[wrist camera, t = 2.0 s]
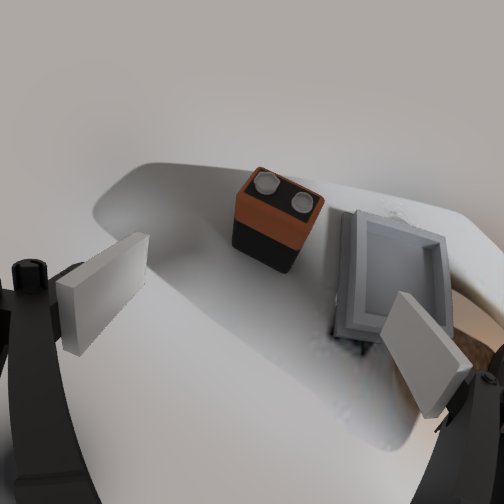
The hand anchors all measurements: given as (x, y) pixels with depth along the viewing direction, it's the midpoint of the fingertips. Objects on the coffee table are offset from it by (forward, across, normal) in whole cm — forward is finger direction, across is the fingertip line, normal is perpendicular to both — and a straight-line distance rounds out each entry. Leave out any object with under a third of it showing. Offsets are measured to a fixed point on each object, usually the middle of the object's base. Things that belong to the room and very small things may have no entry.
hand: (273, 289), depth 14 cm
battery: (+18, 0, -3) cm, 19 cm away
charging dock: (+17, +16, -4) cm, 24 cm away
